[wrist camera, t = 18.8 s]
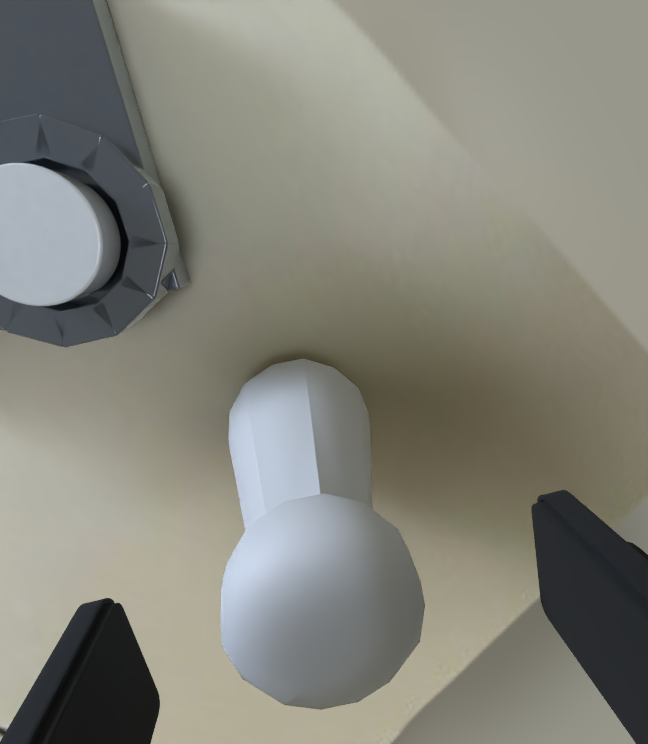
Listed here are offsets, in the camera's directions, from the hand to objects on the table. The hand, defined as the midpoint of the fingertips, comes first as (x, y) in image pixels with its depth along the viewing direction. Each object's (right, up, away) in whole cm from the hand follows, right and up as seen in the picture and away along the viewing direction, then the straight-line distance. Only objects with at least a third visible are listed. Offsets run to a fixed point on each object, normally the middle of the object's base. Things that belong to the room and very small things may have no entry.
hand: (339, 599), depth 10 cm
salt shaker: (-2, +3, +11) cm, 12 cm away
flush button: (-9, +9, +5) cm, 14 cm away
